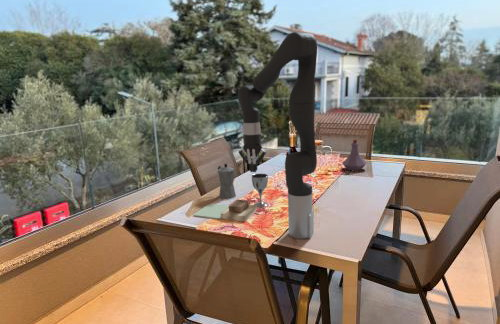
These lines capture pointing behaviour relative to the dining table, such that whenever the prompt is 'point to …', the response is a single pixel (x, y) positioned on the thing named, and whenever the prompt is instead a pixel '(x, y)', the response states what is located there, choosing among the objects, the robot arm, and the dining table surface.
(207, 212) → the mat
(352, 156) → the flask
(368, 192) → the dining table surface
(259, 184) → the wine glass
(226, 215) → the board
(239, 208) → the brown rectangular block
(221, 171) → the coffeepot
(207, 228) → the dining table surface
